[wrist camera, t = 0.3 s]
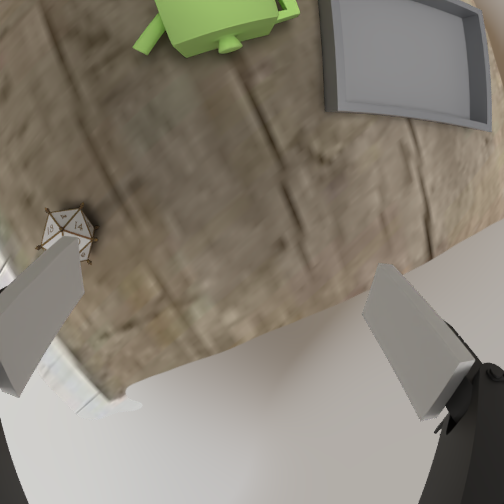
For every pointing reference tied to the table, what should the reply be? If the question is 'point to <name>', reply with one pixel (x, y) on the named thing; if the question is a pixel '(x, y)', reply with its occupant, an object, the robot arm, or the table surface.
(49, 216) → the game die
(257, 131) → the table surface
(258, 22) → the green handled block
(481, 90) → the gray tray
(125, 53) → the table surface
